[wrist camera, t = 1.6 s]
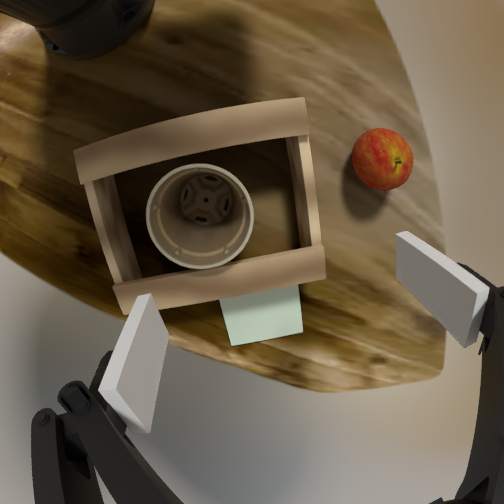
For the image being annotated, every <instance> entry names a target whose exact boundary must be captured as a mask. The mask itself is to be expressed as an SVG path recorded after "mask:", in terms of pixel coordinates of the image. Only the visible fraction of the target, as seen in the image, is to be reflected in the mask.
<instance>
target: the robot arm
mask: <svg viewBox="0 0 504 504" xmlns="http://www.w3.org/2000/svg"><path fill="white" fill-rule="evenodd" d="M154 1H155V0H0V13H3V14H6V15H8V16H11V17H13V18H16V19H18V20H20V21H23V22H25V23H28V24H30V25H32V26H34V27H35V29H36V31H37V32H38V34H39V36H40V37H41V39H42V41H43V42H44V44H45V45H46V47H47V48H48V49H50V50H51V51H52V52H54V53H56V54H58V55H60V56H63V57H65V58H68V59H75V60H81V59H89V58H93V57H96V56H99V55H102V54H104V53H106V52H108V51H110V50H112V49H114V48H115V47H117V46H119V45H120V44H122V43H123V42H124V41H126V40H127V39H128V38H129V37H130V36H131V35H133V34H134V33H135V32H136V31H137V29H138V28H139V27H140V26H141V25H142V24H143V22H144V21H145V20H146V18H147V17H148V15H149V13H150V11H151V9H152V7H153V4H154ZM396 279H397V280H398V281H399V282H400V283H401V284H402V285H403V286H404V287H405V288H406V289H407V290H408V291H409V292H410V293H411V294H412V295H413V296H414V297H415V298H416V299H417V300H418V301H419V302H420V303H421V304H422V305H423V306H424V307H425V308H426V309H427V310H428V311H429V312H430V313H431V314H432V315H433V316H434V317H435V318H436V319H437V320H438V321H439V322H440V323H441V324H442V325H443V326H444V327H445V328H446V329H447V330H448V331H449V332H450V334H451V335H453V337H454V338H455V339H456V340H457V341H458V342H459V343H460V344H461V345H462V347H463V348H466V347H468V346H469V345H471V344H473V343H475V342H476V341H477V337H478V334H479V331H480V332H482V333H483V334H484V337H483V341H482V344H481V347H480V350H479V353H478V354H479V355H480V354H481V351H482V371H481V386H480V397H479V406H478V414H477V421H476V428H475V434H474V439H473V445H472V450H471V454H470V458H469V463H468V467H467V471H466V475H465V477H464V480H463V482H462V484H461V486H460V488H459V490H458V491H457V494H456V496H455V499H454V500H449V501H445V502H443V499H442V498H439V499H437V500H435V501H433V502H432V503H429V504H504V286H503V287H499V288H497V287H495V286H494V285H493V284H492V283H490V282H489V281H488V280H486V279H485V278H483V277H482V276H480V275H479V274H478V273H477V272H474V270H472V269H471V268H469V267H468V266H466V265H463V264H460V263H455V262H454V261H452V260H451V259H449V258H448V257H446V256H445V255H443V254H442V253H440V252H439V251H437V250H436V249H434V248H433V247H431V246H430V245H428V244H427V243H425V242H424V241H422V240H421V239H419V238H418V237H416V236H414V235H413V234H411V233H410V232H408V231H404V232H401V233H397V234H396ZM168 339H169V333H168V331H167V329H166V327H165V324H164V322H163V320H162V318H161V316H160V313H159V311H158V309H157V306H156V304H155V302H154V299H153V297H152V295H151V293H149V294H145V295H140V296H138V297H137V299H136V301H135V303H134V305H133V308H132V310H131V312H130V314H129V316H128V319H127V321H126V323H125V325H124V328H123V330H122V332H121V335H120V337H119V339H118V342H117V344H116V346H115V349H114V350H113V351H108V352H107V353H106V354H105V356H104V357H103V358H102V359H101V361H100V364H99V366H98V369H97V371H96V373H95V374H96V375H95V376H94V378H93V380H92V383H91V385H90V388H89V389H88V388H87V387H86V386H85V384H84V383H83V382H82V381H72V382H70V383H68V384H66V385H65V386H64V387H63V388H62V389H61V390H60V392H59V394H58V397H57V398H58V402H59V403H60V404H61V405H62V407H64V409H65V410H66V411H67V413H64V414H61V415H57V414H56V413H55V412H54V411H53V410H52V409H50V408H45V409H42V410H40V411H38V412H37V413H36V414H35V416H34V418H33V419H32V425H31V457H32V477H33V488H34V499H35V504H104V502H103V499H102V495H101V492H100V488H99V485H98V481H97V477H96V473H95V469H94V466H95V468H96V470H97V472H98V474H99V475H100V477H101V479H102V481H103V482H104V484H105V486H106V487H107V489H108V491H109V492H110V494H111V495H112V497H113V498H114V500H115V501H116V503H117V504H184V503H182V502H181V500H180V499H179V498H178V497H177V496H176V495H175V494H174V493H173V492H172V491H171V490H170V489H169V487H168V486H167V485H166V484H165V483H164V482H163V481H162V479H161V478H160V477H159V476H158V475H157V474H156V472H155V471H154V470H153V469H152V468H151V466H150V465H149V464H148V463H147V461H146V460H145V459H144V458H143V456H142V455H141V454H140V452H139V451H138V450H137V449H136V447H135V446H134V444H133V443H132V442H131V440H130V439H129V438H128V437H127V435H126V434H125V431H126V427H128V428H129V429H130V430H131V431H132V433H133V434H147V433H150V431H151V425H152V419H153V414H154V408H155V402H156V397H157V392H158V386H159V381H160V376H161V371H162V367H163V361H164V357H165V352H166V348H167V343H168Z"/></svg>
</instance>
